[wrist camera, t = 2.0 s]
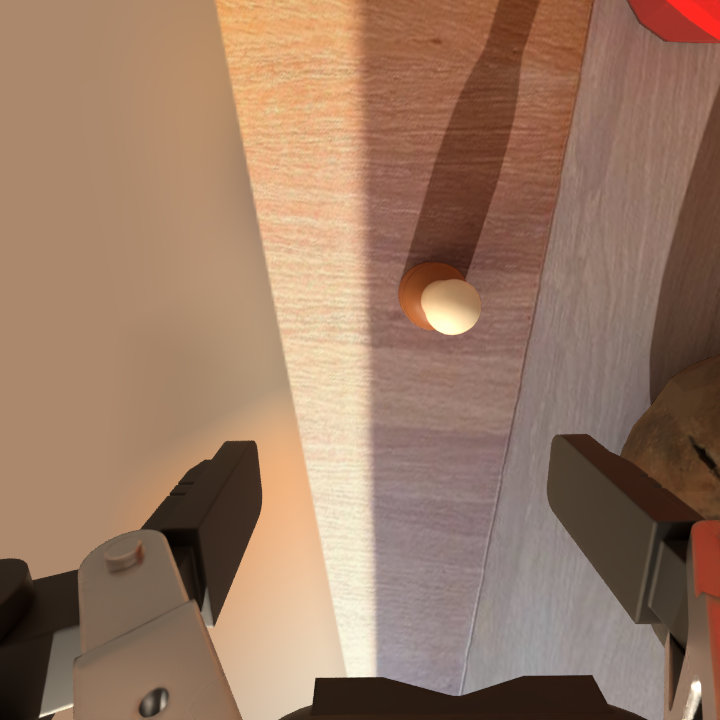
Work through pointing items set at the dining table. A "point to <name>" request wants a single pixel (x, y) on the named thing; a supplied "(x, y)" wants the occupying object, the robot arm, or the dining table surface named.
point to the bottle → (680, 19)
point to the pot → (683, 442)
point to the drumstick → (439, 298)
